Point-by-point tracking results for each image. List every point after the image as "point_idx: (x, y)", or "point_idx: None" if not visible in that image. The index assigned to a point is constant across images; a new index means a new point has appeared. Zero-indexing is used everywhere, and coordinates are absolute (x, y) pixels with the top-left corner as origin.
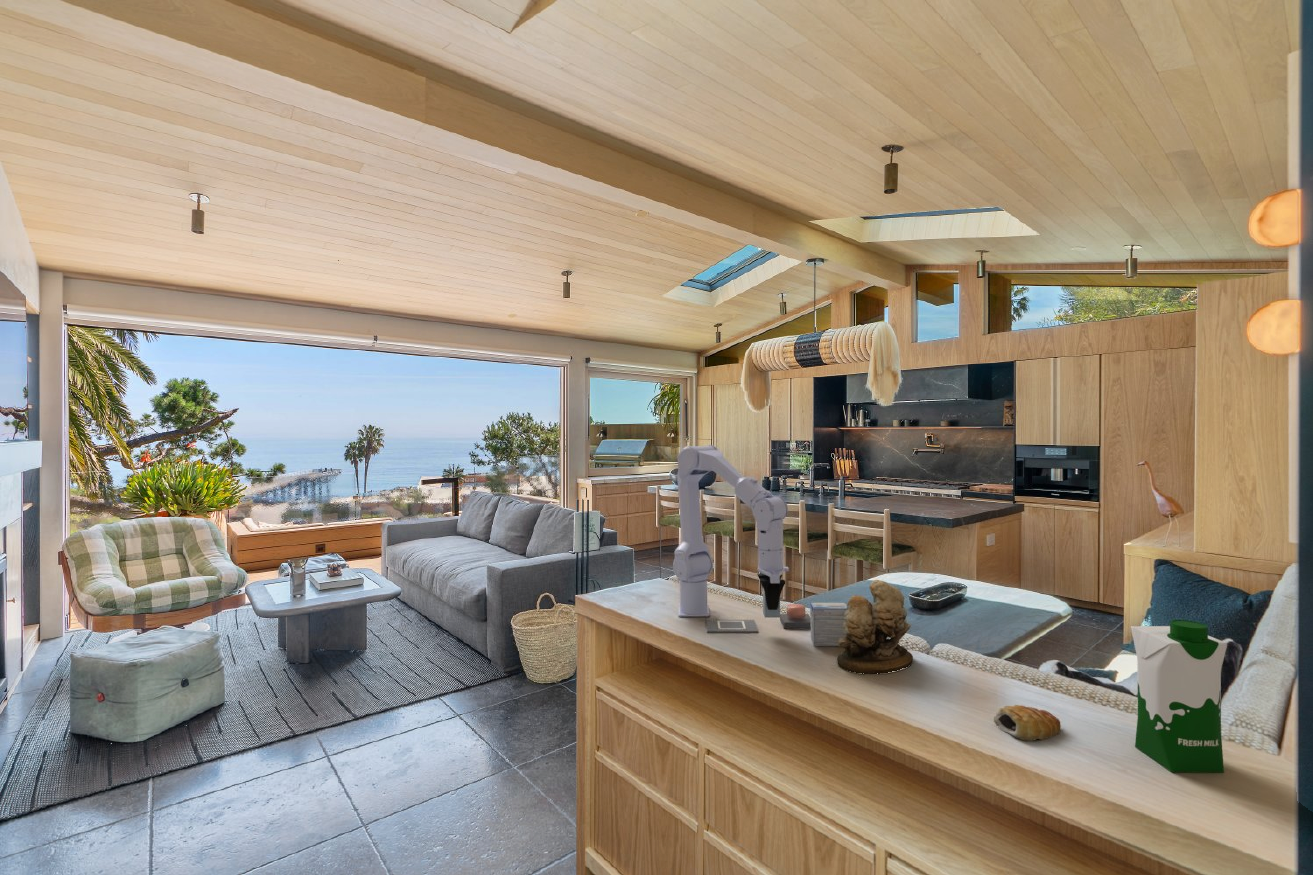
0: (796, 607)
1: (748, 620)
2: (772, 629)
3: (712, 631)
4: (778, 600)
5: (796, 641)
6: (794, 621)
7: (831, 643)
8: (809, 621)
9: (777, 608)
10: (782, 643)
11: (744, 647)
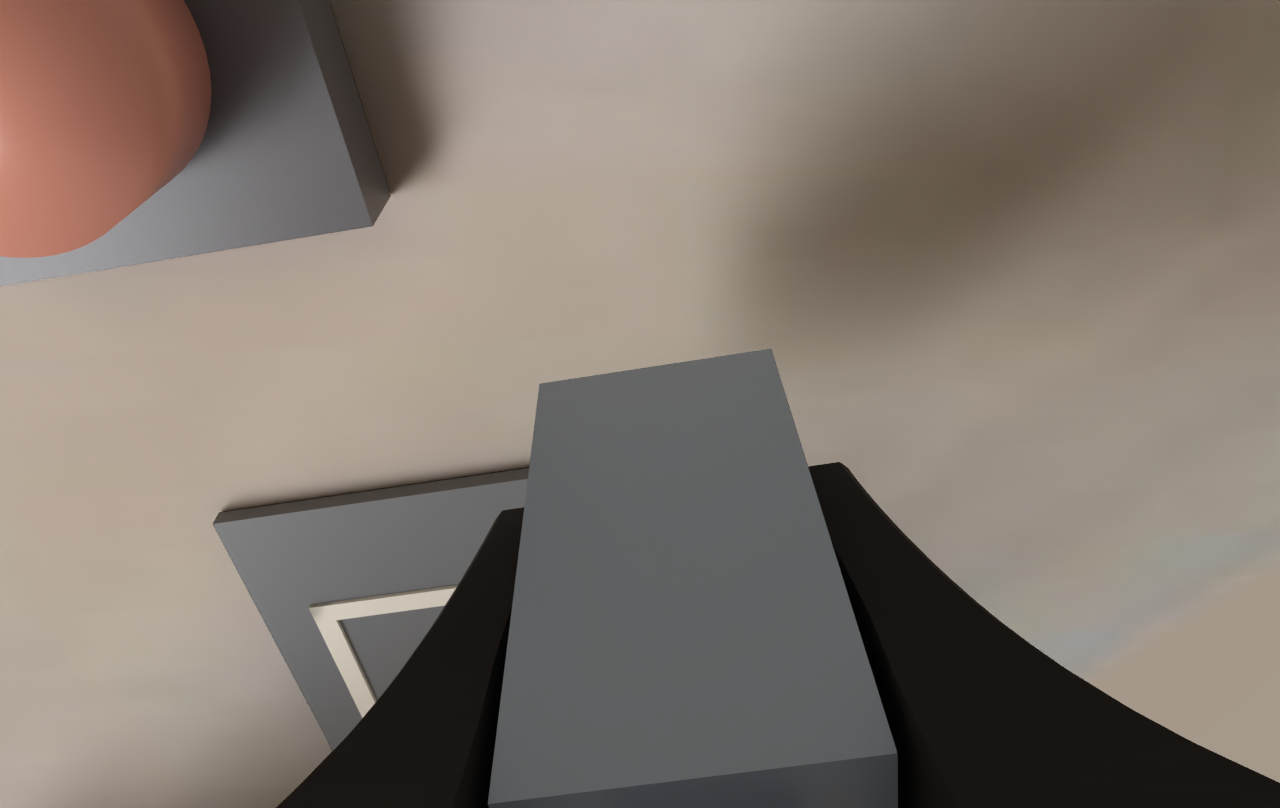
0: (43, 87)
1: (268, 569)
2: (455, 326)
3: None
4: (914, 552)
5: (884, 32)
6: (269, 76)
7: None
8: None
9: (844, 468)
10: (958, 205)
11: (1058, 533)
